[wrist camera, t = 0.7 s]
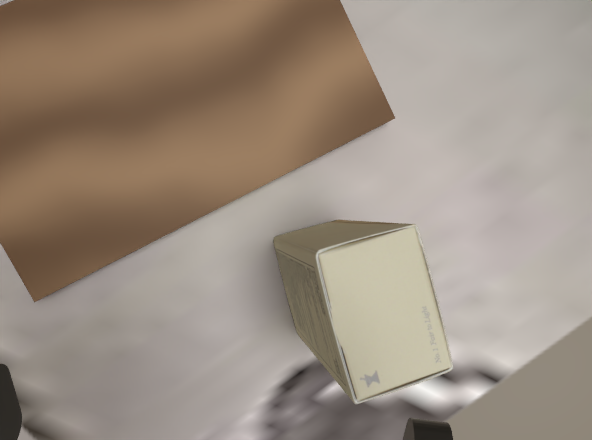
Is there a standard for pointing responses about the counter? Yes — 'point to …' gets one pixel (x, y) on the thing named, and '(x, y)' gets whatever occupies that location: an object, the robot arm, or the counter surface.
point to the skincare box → (365, 304)
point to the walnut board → (161, 117)
